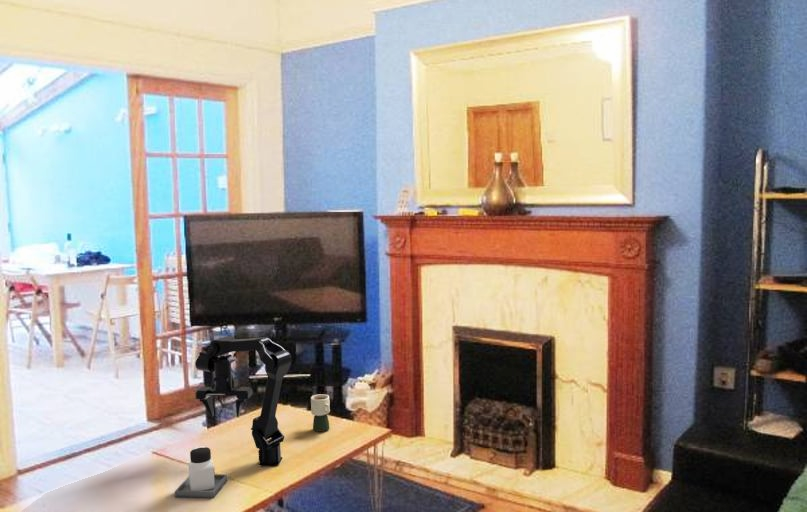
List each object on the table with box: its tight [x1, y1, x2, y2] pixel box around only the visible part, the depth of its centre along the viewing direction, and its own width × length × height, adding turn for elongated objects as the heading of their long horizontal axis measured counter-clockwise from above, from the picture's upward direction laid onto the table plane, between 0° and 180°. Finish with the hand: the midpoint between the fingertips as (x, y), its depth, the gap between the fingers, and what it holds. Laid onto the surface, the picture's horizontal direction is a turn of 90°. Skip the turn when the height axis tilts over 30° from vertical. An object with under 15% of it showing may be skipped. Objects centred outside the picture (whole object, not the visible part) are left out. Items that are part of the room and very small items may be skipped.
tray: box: [174, 473, 228, 499], centre depth 204 cm, size 12×12×2 cm
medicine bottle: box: [187, 446, 216, 491], centre depth 204 cm, size 7×7×12 cm
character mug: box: [310, 393, 331, 432], centre depth 251 cm, size 11×7×13 cm, turn 43°
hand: (225, 416), depth 231 cm, fingers open, 9 cm apart
